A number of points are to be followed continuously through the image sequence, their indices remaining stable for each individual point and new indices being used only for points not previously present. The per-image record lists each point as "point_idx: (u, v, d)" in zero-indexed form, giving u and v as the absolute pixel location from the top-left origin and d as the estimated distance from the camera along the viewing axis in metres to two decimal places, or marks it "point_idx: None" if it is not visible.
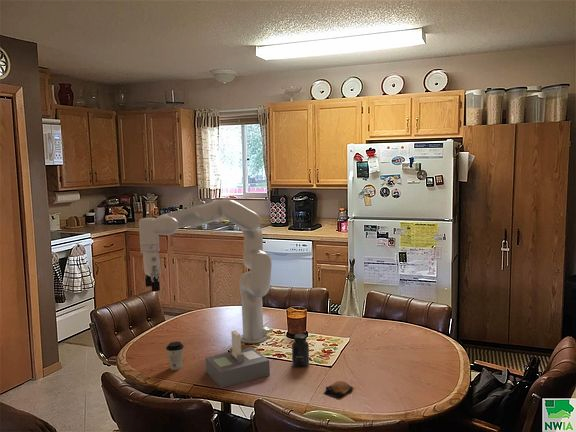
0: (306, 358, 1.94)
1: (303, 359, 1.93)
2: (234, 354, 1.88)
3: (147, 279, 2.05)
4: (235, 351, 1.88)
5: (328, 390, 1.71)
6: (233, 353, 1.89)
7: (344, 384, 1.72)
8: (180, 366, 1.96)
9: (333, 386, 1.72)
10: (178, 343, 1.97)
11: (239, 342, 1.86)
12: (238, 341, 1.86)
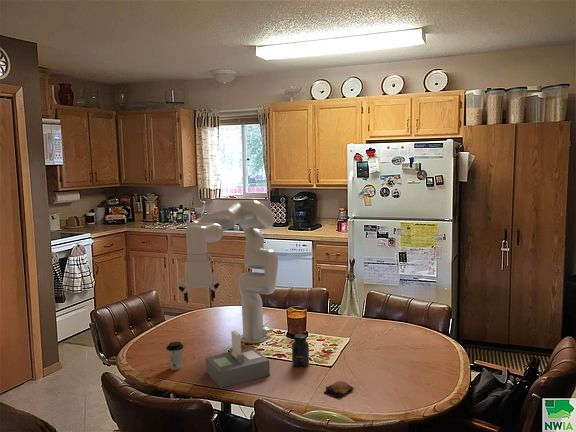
0: (306, 358, 1.94)
1: (303, 359, 1.93)
2: (234, 354, 1.88)
3: (187, 295, 1.86)
4: (235, 351, 1.88)
5: (328, 390, 1.71)
6: (233, 353, 1.89)
7: (344, 384, 1.72)
8: (180, 366, 1.96)
9: (333, 386, 1.72)
10: (178, 343, 1.97)
11: (239, 342, 1.86)
12: (238, 341, 1.86)
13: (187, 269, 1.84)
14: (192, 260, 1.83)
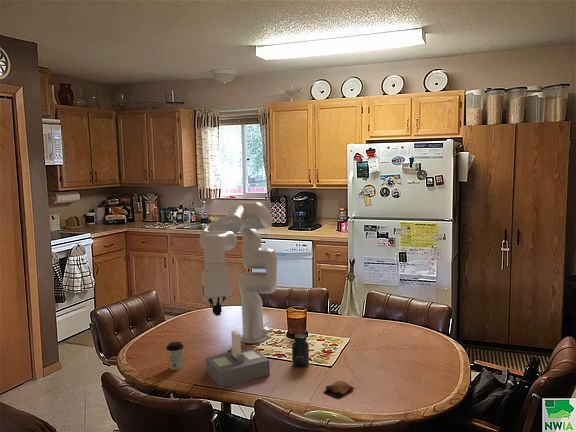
0: (306, 358, 1.94)
1: (303, 359, 1.93)
2: (234, 354, 1.88)
3: None
4: (235, 351, 1.88)
5: (328, 389, 1.72)
6: (233, 353, 1.89)
7: (344, 384, 1.72)
8: (180, 366, 1.96)
9: (333, 386, 1.72)
10: (178, 343, 1.97)
11: (239, 342, 1.86)
12: (238, 341, 1.86)
13: (207, 279, 1.78)
14: (212, 269, 1.78)
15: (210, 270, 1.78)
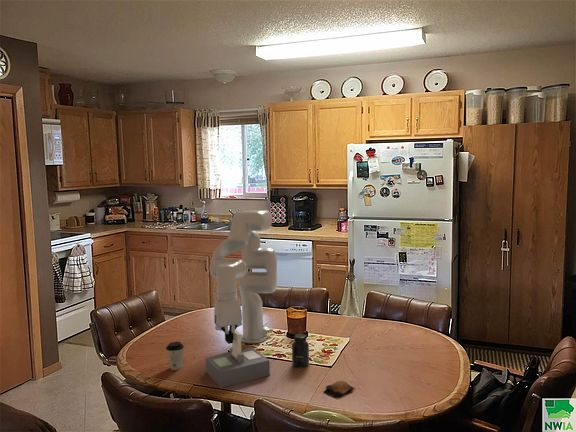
0: (306, 358, 1.94)
1: (303, 359, 1.93)
2: (234, 354, 1.88)
3: None
4: (235, 351, 1.88)
5: (327, 389, 1.72)
6: (233, 353, 1.89)
7: (344, 384, 1.72)
8: (180, 366, 1.96)
9: (333, 385, 1.72)
10: (178, 343, 1.97)
11: (240, 342, 1.87)
12: (239, 341, 1.86)
13: (219, 308, 1.82)
14: (225, 299, 1.82)
15: (223, 300, 1.82)
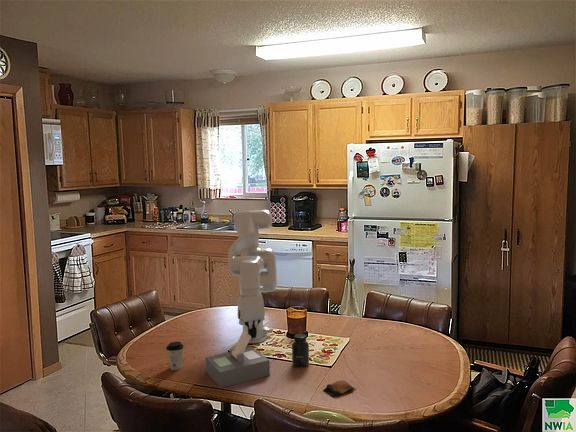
0: (306, 358, 1.94)
1: (303, 359, 1.93)
2: (235, 353, 1.89)
3: None
4: (238, 350, 1.88)
5: (327, 388, 1.73)
6: (234, 352, 1.90)
7: (344, 384, 1.72)
8: (180, 366, 1.96)
9: (333, 384, 1.73)
10: (178, 343, 1.97)
11: (246, 343, 1.88)
12: (246, 341, 1.88)
13: (243, 304, 1.86)
14: (249, 294, 1.86)
15: (247, 295, 1.86)
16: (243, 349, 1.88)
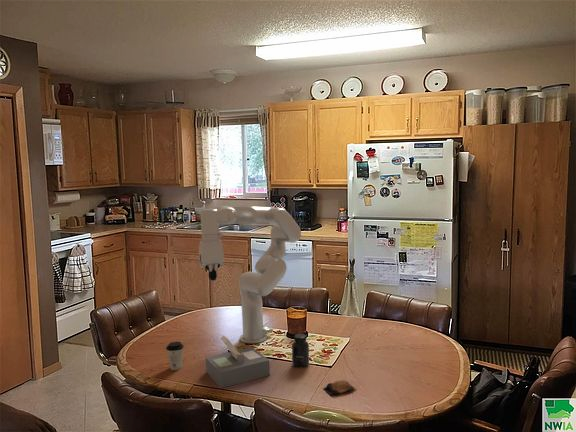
0: (306, 358, 1.94)
1: (303, 359, 1.93)
2: (234, 356, 1.88)
3: None
4: (233, 353, 1.88)
5: (327, 386, 1.74)
6: (233, 355, 1.89)
7: (343, 384, 1.72)
8: (180, 366, 1.96)
9: (333, 384, 1.74)
10: (178, 343, 1.97)
11: (231, 346, 1.85)
12: (230, 345, 1.85)
13: (203, 248, 2.04)
14: (208, 239, 2.04)
15: (206, 240, 2.04)
16: (235, 351, 1.86)
